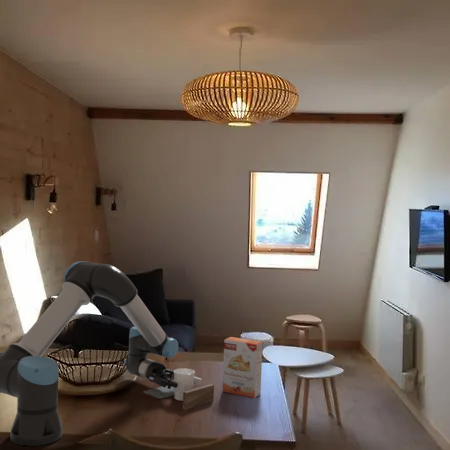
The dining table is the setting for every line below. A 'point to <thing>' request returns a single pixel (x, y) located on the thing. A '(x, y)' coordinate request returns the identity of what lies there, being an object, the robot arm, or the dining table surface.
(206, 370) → the dining table surface
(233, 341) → the cracker box
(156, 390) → the front mat
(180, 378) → the white cup
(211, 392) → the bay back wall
